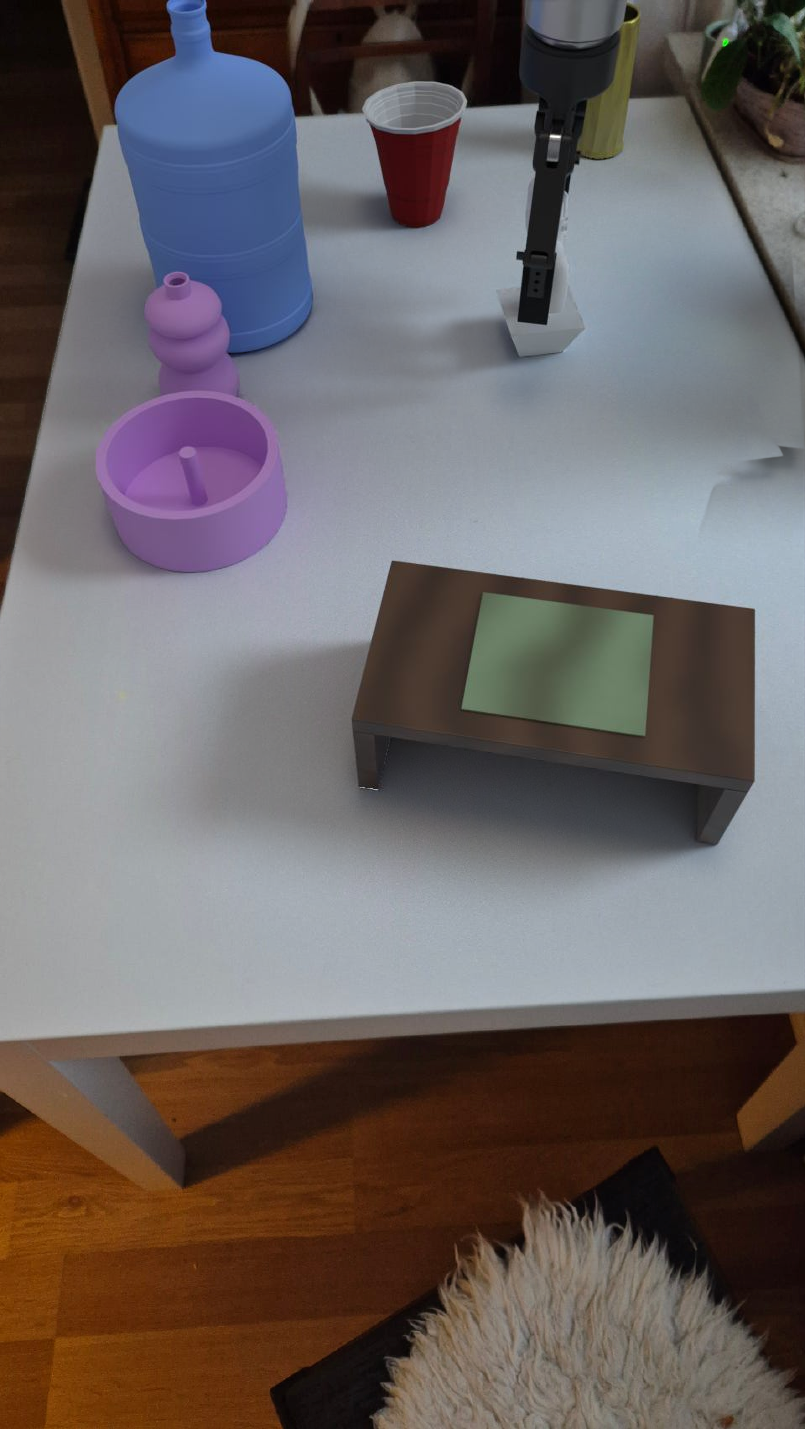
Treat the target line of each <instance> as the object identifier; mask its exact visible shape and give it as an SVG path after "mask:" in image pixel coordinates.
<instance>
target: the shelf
mask: <svg viewBox="0 0 805 1429" xmlns="http://www.w3.org/2000/svg"><path fill="white" fill-rule="evenodd" d="M355 699H356V700H355V704H354V707H353V712H352V716H351V729H352V737H353V750H354V755H355V765H356V775H357V786H358V788H359V787H365V788H373V789H379V790H380V786H379V784H380V785H381V782H380V780H381V781H382V778H381V776H383V773H382V771H383V772H384V769H383V767H384V768H385V764H384V762H385V763H386V760H385V758H386V759H387V756H386V753H387V754H388V751H387V749H388V750H389V747H388V745H389V746H390V742H391V738H395V739H402V740H408V741H414V742H415V741H416V742H421V743H428V744H435V745H441V746H448V747H453V748H461V749H465V750H466V749H467V750H474V751H480V752H487V753H492V754H493V753H494V754H499V755H505V756H513V757H519V758H525V759H530V760H531V759H532V760H538V761H546V762H551V763H557V764H565V765H570V766H577V767H585V768H589V769H590V768H591V769H595V770H596V769H597V770H604V771H610V772H616V773H623V774H629V775H635V776H643V777H649V778H656V779H662V780H669V781H675V782H680V783H689V784H695V785H698V786H697V788H698V789H697V808H696V809H697V812H696V838H695V839H696V840H695V841H696V842H697V843H702V844H707V845H708V844H709V845H715V846H718V845H719V843H720V841H721V840H722V838H723V836H724V834H725V833H726V831H727V829H728V827H729V826H730V824H731V823H732V821H733V819H734V818H735V816H736V814H737V812H738V810H739V809H740V808H741V805H742V804H743V802H744V800H745V799H746V797H747V795H748V793H749V791H750V790H751V788H752V787H753V785H754V783H755V781H756V609H755V608H751V607H744V606H736V605H729V604H722V603H713V602H706V601H699V600H691V599H685V598H683V599H682V598H677V597H669V596H663V595H654V594H646V593H640V592H632V591H625V590H617V589H610V588H602V587H594V586H587V585H580V584H571V583H565V582H557V581H550V580H542V579H534V578H527V577H520V576H513V575H507V574H506V575H505V574H498V573H497V574H496V573H491V572H483V571H476V570H468V569H461V568H460V569H459V568H453V567H445V566H438V565H430V564H423V563H416V562H409V561H408V562H407V561H400V560H394V559H393V560H391V562H390V565H389V570H388V573H387V578H386V581H385V585H384V590H383V593H382V597H381V601H380V605H379V609H378V613H377V617H376V620H375V625H374V629H373V632H372V636H371V640H370V645H369V648H368V653H367V656H366V661H365V664H364V668H363V672H362V676H361V679H360V683H359V687H358V692H357V696H356V698H355ZM390 737H391V738H390ZM389 741H390V742H389Z"/></svg>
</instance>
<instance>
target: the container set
mask: <svg viewBox="0 0 805 1429" xmlns="http://www.w3.org/2000/svg"><path fill="white" fill-rule="evenodd" d="M163 282H164V285H162V286H161V287H159V288H158V289H157V288H156V289H155V290H153V291H152V293H151V294H149V296H148V297H147V299H146V301H145V305H144V312H143V316H144V319H145V321H146V323H147V324H148V326H149V327H148V331H147V340H148V346H149V348H150V350H151V352H152V353H153V355H154V357H155V358H156V359H157V360H158V361H159V362H160V363H161V365H160V368H159V373H158V387H159V390H160V394H161V395H160V396H158V397H155V398H151V399H149V400H146V401H144V402H143V403H141V404H138V405H136V406H134V407H132V408H131V409H130V410H128V411H127V412H125V413H124V414H122V415H121V416H120V417H119V418H118V419H116V420H115V422H113V424H111V426H109V427H108V429H107V430H106V432H105V434H103V436H102V438H100V442H99V445H98V447H97V448H96V452H95V459H94V460H95V461H94V462H95V463H94V467H95V472H96V473H95V474H96V478H97V481H98V483H99V486H100V488H101V491H102V492H101V493H102V495H103V497H104V499H105V502H106V505H107V508H108V510H109V513H110V516H111V518H112V521H113V524H114V527H115V530H116V532H117V533H118V537H119V538H120V541H121V542H122V544H123V545H124V546H125V547H126V548H127V549H128V551H129V552H130V553H132V554H133V555H135V556H136V557H137V558H138V559H140V560H141V561H143V562H145V563H147V564H149V565H151V566H154V567H156V568H158V569H159V568H160V569H162V570H164V569H165V570H167V571H171V572H179V573H180V572H182V573H199V572H200V573H201V572H211V571H214V570H218V569H224V568H226V567H229V566H232V565H235V564H237V563H240V562H242V561H245V559H248V558H249V557H251V556H252V555H255V554H256V553H258V552H259V551H260V550H261V549H263V547H265V546H266V545H267V544H268V543H269V542H270V541H271V540H272V538H273V537H274V536H275V535H276V534H277V533H278V532H279V529H280V528H281V526H282V524H283V522H284V520H285V518H286V517H285V516H286V512H287V509H288V494H287V487H286V481H285V480H286V479H285V474H284V467H283V460H282V455H281V448H280V442H279V437H278V433H277V431H276V427H275V426H274V424H273V423H272V422H271V420H270V419H269V417H268V416H267V415H266V414H265V413H264V412H263V411H262V410H261V409H260V408H259V407H257V406H256V405H254V404H253V403H250V402H249V401H247V400H246V399H243V398H240V397H238V393H239V390H240V374H239V371H238V367H237V366H236V363H235V361H234V360H233V358H232V357H231V356H230V354H229V353H226V350H227V348H228V345H229V338H230V331H229V328H228V325H227V322H226V320H225V318H224V317H223V316H222V314H221V310H222V304H221V300H220V299H219V297H218V296H217V294H216V293H215V291H214V290H213V289H212V288H211V287H209V286H207V285H205V284H203V283H200V282H196V281H192V280H189V276H188V275H187V274H186V273H183V272H172V273H170V274H168V275H166V276H165V278H164V280H163Z"/></svg>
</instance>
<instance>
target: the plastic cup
mask: <svg viewBox="0 0 805 1429" xmlns="http://www.w3.org/2000/svg"><path fill="white" fill-rule="evenodd" d="M467 103H468V100H467V98H466V96H465V93H464V92H463V91H462V90H459V88H457V87H454V86H453V85H450V84H447V83H442V82H437V81H409V82H402V83H397V84H396V83H395V84H393V85H390V86H388V87H385V88H382V89H380V90H377V91H376V92H374V93H373V94H372V95H370V96H369V97H368V98H366V100H365V102H364V104H363V106H362V108H361V110H362V112H363V115H364V119H365V120H366V123H367V124H368V125H369V127H370V129H371V133H372V136H373V139H374V143H375V146H376V152H377V157H378V161H379V166H380V170H381V175H382V181H383V185H384V188H385V191H386V198H387V202H388V208H389V211H390V214H391V217H392V219H393V220H394V221H395V222H396V223H397V224H399V225H402V226H405V227H406V228H407V227H408V228H409V227H410V228H423V227H428V226H431V225H433V224H436V222H437V221H438V220H440V219H441V216H442V213H443V210H444V207H445V201H446V195H447V191H448V190H447V189H448V186H449V183H450V178H451V172H452V166H453V161H454V156H455V150H456V144H457V138H458V135H459V130H460V125H461V122H462V117H463V116H464V114H465V110H466V108H467V105H468V104H467Z"/></svg>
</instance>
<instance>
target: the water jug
mask: <svg viewBox="0 0 805 1429" xmlns="http://www.w3.org/2000/svg"><path fill="white" fill-rule="evenodd" d="M165 7H166V10H167V13H168V14H169V17H170V21H171V24H170V32H171V36H172V39H173V42H174V48H175V55H174V56H172V57H169V58H168V59H165V60H163V61H160V62H158V63H156V64H154V65H151V66H149V67H147V68H145V69H143V70H141V71H140V72H138V73H137V74H135V75H134V76H133V77H131V78H130V79H129V80H128V81H127V82H126V83H125V84H124V85H123V86H122V88H121V89H120V91H119V92H118V94H117V97H116V99H115V103H114V118H115V121H116V127H117V128H116V130H117V136H118V137H117V138H118V142H119V145H120V150H121V154H122V157H123V159H124V163H125V164H126V167H127V171H128V175H129V179H130V183H131V187H132V192H133V195H134V196H133V197H134V199H135V204H136V207H137V212H138V220H139V227H140V231H141V235H142V239H143V242H144V245H145V248H146V250H147V252H148V255H149V261H150V266H151V270H152V273H153V278H154V281H155V285H156V289H158V288H159V287H161V286H162V285H164V282H163V280H164V278H165V276H166V275H168V274H170V273H172V272H183V273H186V274H187V275H188V276H189V280H192V281H196V282H200V283H203V284H205V285H207V286H209V287H211V288H212V289H213V290H214V291H215V293H216V294H217V296H218V297H219V299H220V300H221V304H222V310H221V314H222V316H223V317H224V318H225V320H226V322H227V325H228V328H229V331H230V338H229V345H228V348H227V350H226V353H227V354H229V353H230V354H233V353H235V354H236V353H245V352H246V353H247V352H253V351H257V350H261V349H264V348H267V347H270V346H273V345H275V344H278V343H279V342H281V341H283V340H285V339H286V338H288V337H289V336H291V335H292V334H293V333H295V332H296V331H297V330H298V329H299V328H301V326H302V325H303V323H304V322H306V320H307V318H308V317H309V314H310V312H311V310H312V306H313V302H314V301H313V300H314V292H313V283H312V282H313V280H312V276H311V273H310V267H309V266H310V265H309V256H308V247H307V239H306V235H305V230H304V221H303V212H302V206H301V197H300V186H299V184H300V183H299V160H298V158H299V157H298V149H297V148H298V147H297V143H298V132H297V125H296V124H297V123H296V122H297V121H296V115H295V111H294V106H293V101H292V100H293V99H292V94H291V89H290V88H289V85H288V83H287V82H286V81H285V79H284V78H283V77H282V76H281V75H280V74H279V72H277V71H276V70H275V69H273V68H272V67H270V66H268V65H267V64H265V63H262V62H260V61H258V60H255V59H252V58H249V57H244V56H239V55H234V54H228V53H223V52H218V51H215V50H214V48H213V45H212V39H211V24H210V22H209V21H208V19H207V13H206V10H207V7H208V6H207V1H206V0H168V1H167V2H166V6H165Z"/></svg>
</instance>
